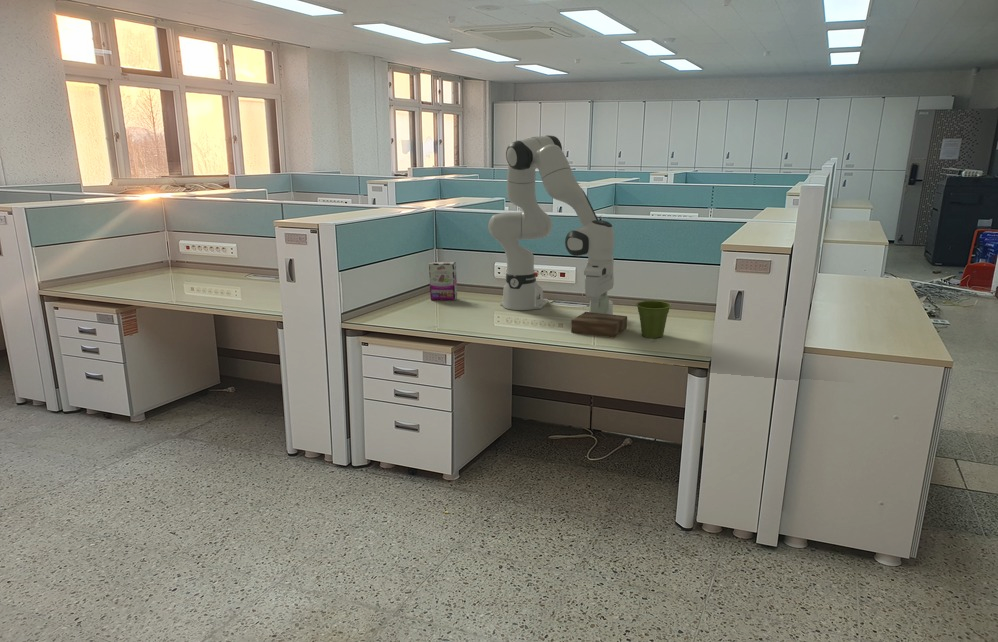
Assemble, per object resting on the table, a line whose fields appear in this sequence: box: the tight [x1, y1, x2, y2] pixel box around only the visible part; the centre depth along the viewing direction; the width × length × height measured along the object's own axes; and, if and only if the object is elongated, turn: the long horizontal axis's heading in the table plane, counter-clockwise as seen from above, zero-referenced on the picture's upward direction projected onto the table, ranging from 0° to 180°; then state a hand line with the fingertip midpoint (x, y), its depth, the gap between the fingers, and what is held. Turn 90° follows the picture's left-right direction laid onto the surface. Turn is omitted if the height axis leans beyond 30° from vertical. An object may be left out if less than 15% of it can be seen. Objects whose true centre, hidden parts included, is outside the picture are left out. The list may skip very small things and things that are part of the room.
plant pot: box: [635, 300, 672, 339], centre depth 232 cm, size 12×12×11 cm
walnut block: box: [570, 311, 628, 339], centre depth 241 cm, size 14×16×5 cm
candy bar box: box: [428, 261, 458, 301], centre depth 293 cm, size 11×5×16 cm, turn 81°
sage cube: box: [590, 296, 610, 314], centre depth 239 cm, size 5×5×5 cm
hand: (599, 305), depth 239 cm, fingers closed on sage cube, 5 cm apart
